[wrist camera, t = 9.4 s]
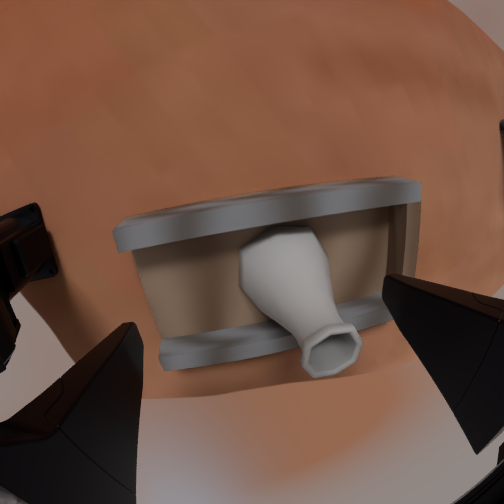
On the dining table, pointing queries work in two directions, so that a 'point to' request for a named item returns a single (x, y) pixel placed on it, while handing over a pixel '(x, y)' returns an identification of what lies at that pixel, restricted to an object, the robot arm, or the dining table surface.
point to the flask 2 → (502, 127)
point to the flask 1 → (299, 296)
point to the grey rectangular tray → (244, 231)
